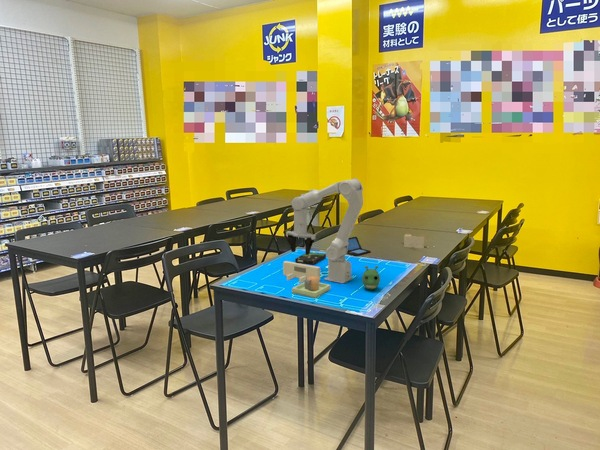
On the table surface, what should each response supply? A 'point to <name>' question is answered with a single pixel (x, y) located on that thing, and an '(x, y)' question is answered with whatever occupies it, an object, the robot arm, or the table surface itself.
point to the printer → (299, 271)
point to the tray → (314, 294)
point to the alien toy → (371, 278)
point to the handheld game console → (355, 247)
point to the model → (413, 241)
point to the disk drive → (310, 258)
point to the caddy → (312, 283)
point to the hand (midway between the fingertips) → (300, 253)
